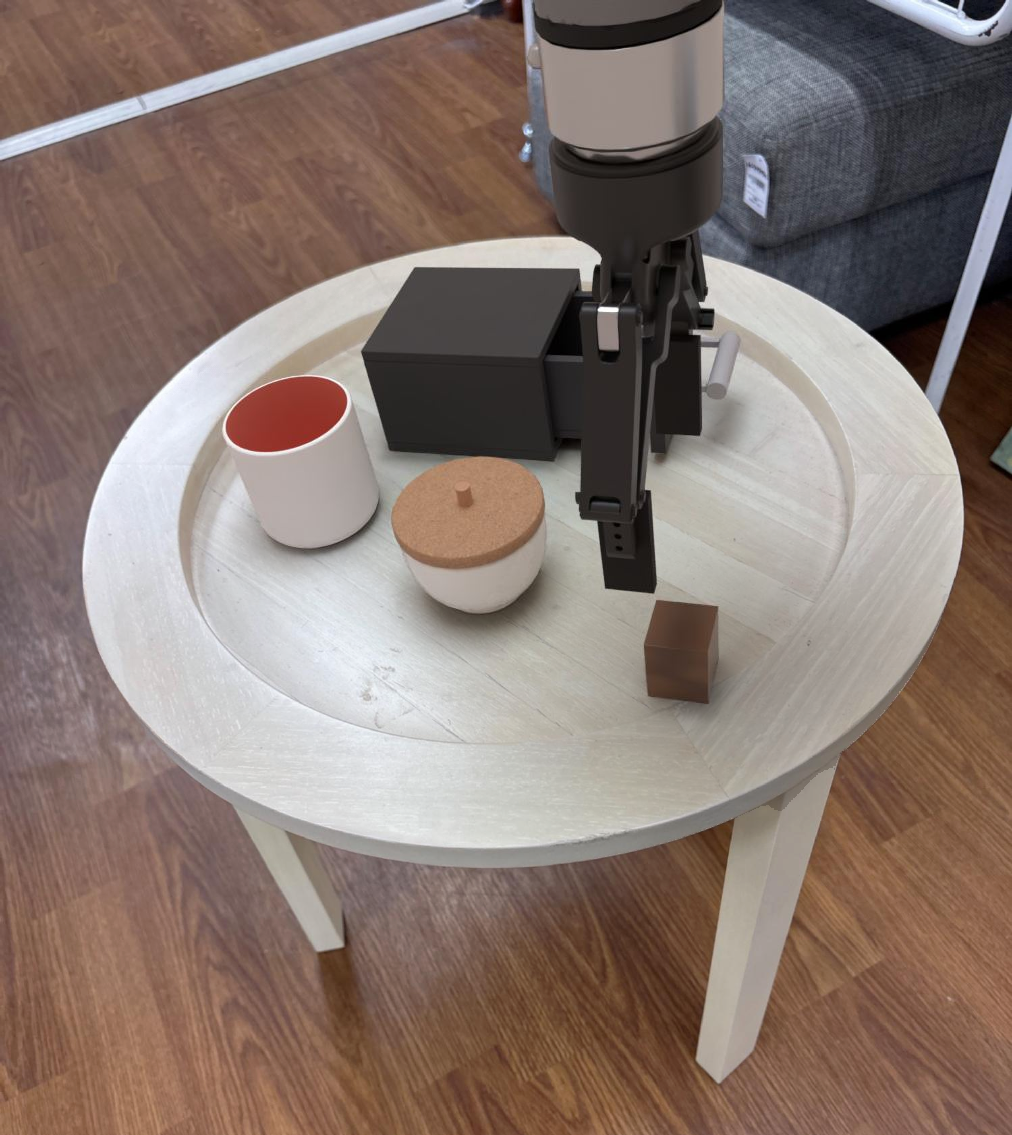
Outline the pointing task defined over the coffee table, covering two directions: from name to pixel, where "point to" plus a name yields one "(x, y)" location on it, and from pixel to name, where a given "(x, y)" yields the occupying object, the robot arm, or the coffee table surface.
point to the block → (682, 650)
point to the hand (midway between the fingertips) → (656, 504)
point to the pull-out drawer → (568, 373)
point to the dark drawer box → (469, 360)
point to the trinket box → (472, 532)
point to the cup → (303, 460)
